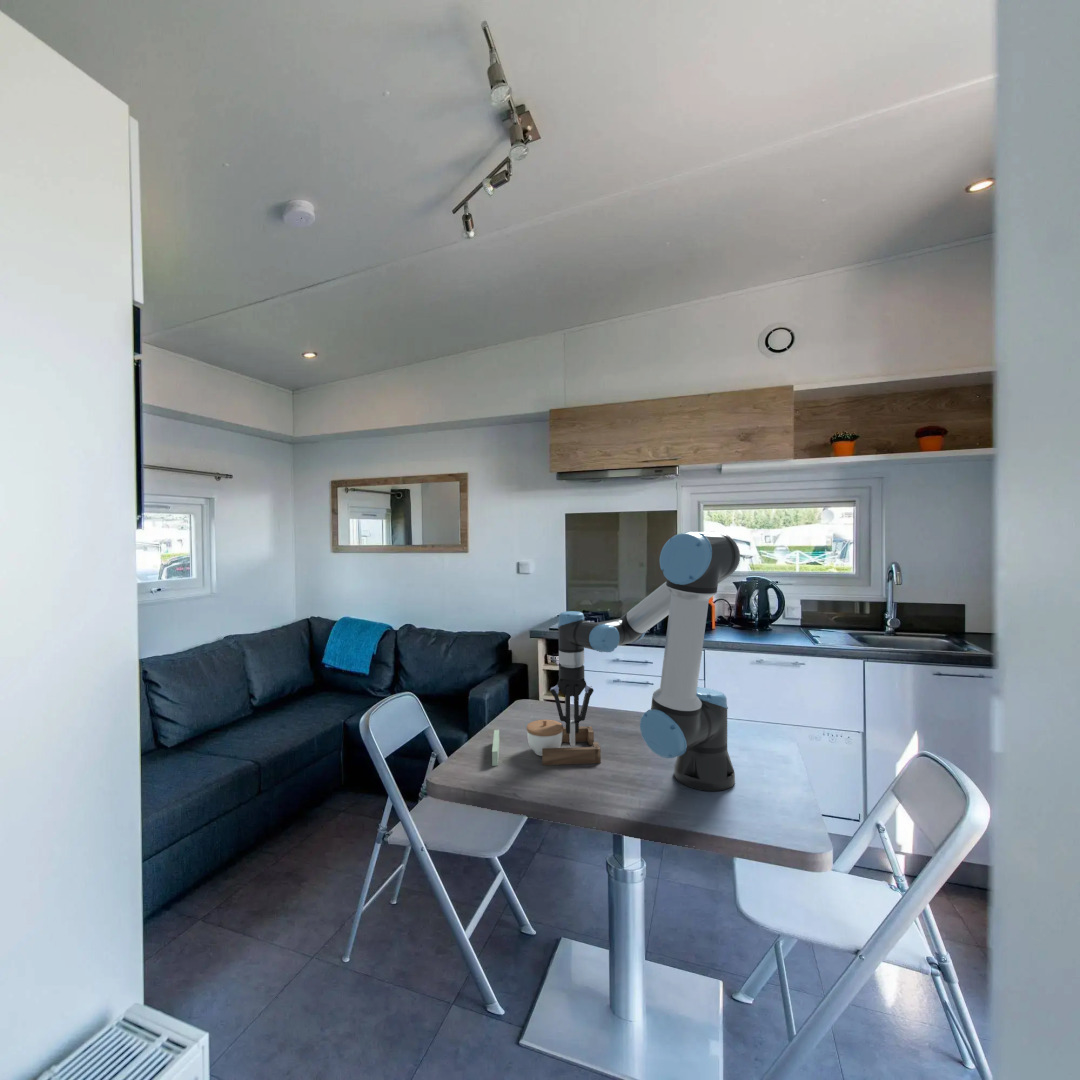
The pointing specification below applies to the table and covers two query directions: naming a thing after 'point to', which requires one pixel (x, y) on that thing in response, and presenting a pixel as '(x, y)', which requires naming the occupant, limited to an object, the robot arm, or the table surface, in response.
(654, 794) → the table surface
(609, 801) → the table surface
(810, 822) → the table surface
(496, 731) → the rail
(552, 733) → the lidded jar
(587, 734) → the cradle
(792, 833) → the table surface
